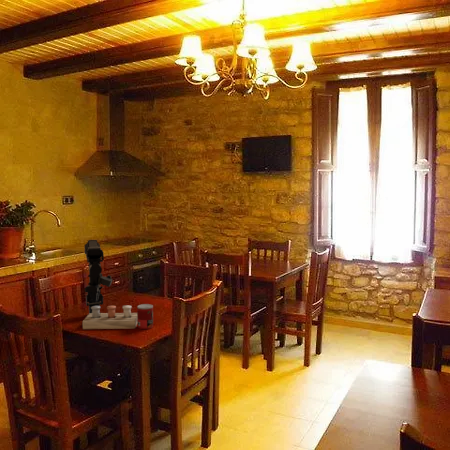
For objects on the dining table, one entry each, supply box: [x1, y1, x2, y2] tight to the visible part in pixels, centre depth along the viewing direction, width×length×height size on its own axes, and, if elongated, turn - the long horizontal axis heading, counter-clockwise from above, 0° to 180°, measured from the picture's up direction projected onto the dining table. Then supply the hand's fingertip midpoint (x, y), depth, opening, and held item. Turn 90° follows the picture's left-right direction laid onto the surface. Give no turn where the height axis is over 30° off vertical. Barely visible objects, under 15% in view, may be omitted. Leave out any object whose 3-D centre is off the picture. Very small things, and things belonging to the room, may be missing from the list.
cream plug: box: [122, 304, 133, 318], centre depth 235 cm, size 5×5×6 cm
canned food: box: [136, 303, 154, 330], centre depth 230 cm, size 8×8×11 cm
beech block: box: [82, 312, 138, 330], centre depth 235 cm, size 14×26×4 cm, turn 92°
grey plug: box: [91, 306, 101, 318], centre depth 234 cm, size 5×5×6 cm
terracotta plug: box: [106, 305, 117, 318], centre depth 234 cm, size 5×5×6 cm
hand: (95, 301), depth 233 cm, fingers open, 3 cm apart
